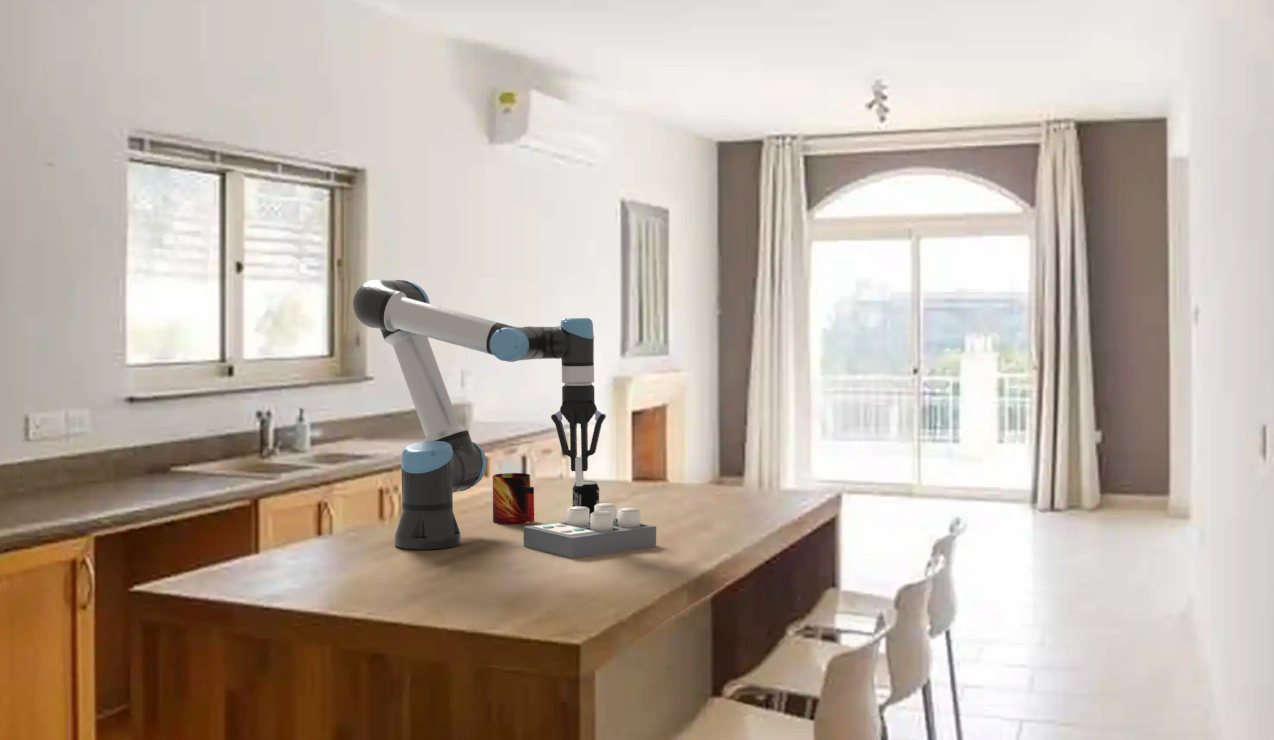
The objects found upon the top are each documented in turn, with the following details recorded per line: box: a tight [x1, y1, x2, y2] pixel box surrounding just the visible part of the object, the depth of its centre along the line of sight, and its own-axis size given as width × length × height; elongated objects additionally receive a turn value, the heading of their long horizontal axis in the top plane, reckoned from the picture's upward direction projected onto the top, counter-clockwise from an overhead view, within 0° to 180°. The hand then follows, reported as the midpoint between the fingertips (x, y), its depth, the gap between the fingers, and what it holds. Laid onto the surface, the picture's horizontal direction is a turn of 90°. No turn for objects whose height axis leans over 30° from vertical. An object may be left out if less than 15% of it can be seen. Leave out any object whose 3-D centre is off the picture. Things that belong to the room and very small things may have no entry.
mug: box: [492, 472, 535, 526], centre depth 327 cm, size 10×14×12 cm
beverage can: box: [572, 480, 600, 518], centre depth 315 cm, size 7×7×12 cm
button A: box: [566, 506, 589, 527], centre depth 297 cm, size 5×5×5 cm
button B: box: [594, 502, 617, 522], centre depth 302 cm, size 5×5×5 cm
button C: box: [590, 511, 613, 532], centre depth 290 cm, size 5×5×5 cm
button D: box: [617, 507, 641, 529], centre depth 295 cm, size 5×5×5 cm
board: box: [523, 517, 657, 559], centre depth 294 cm, size 24×19×5 cm
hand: (579, 485), depth 297 cm, fingers closed
